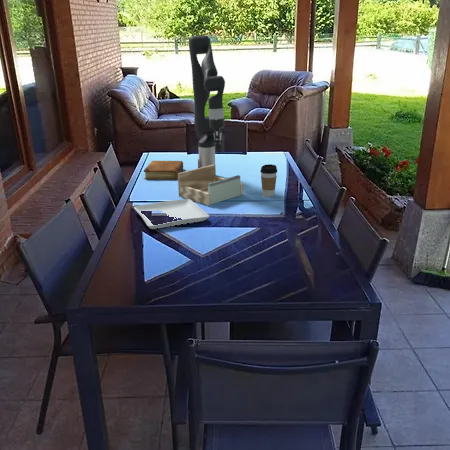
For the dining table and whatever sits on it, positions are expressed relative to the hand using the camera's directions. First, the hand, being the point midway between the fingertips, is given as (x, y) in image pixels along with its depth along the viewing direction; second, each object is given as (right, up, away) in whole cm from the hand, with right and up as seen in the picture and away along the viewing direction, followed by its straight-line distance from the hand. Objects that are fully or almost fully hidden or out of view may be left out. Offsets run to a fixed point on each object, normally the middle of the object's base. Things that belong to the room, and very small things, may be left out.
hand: (218, 149), depth 256 cm
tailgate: (+4, -26, -13) cm, 29 cm away
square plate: (-21, -36, -34) cm, 54 cm away
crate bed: (-3, -24, -6) cm, 25 cm away
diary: (-32, -10, +36) cm, 49 cm away
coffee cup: (+25, -24, -6) cm, 35 cm away
